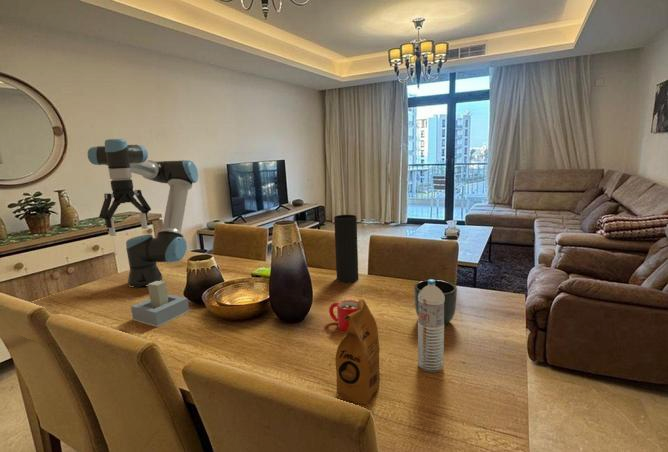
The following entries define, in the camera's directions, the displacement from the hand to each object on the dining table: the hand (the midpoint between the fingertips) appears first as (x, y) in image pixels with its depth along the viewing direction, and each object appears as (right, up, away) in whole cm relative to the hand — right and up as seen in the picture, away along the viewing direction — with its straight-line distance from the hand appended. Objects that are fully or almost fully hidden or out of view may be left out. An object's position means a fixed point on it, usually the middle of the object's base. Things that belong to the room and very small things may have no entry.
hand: (129, 232), depth 149 cm
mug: (+86, -32, -21) cm, 95 cm away
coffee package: (+89, -39, -56) cm, 112 cm away
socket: (+17, -32, -8) cm, 37 cm away
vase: (+89, -23, +24) cm, 95 cm away
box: (+17, -32, -8) cm, 37 cm away
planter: (+118, -31, -22) cm, 124 cm away
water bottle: (+110, -36, -48) cm, 125 cm away
